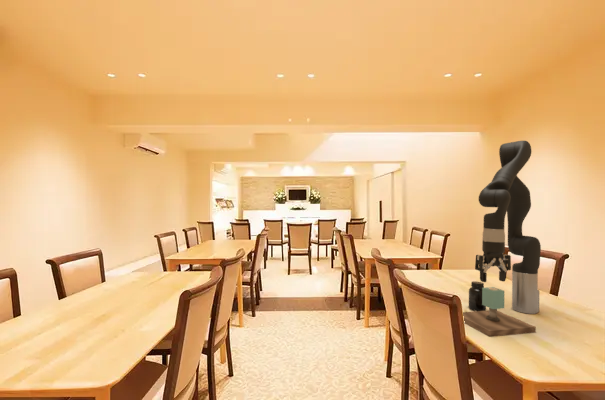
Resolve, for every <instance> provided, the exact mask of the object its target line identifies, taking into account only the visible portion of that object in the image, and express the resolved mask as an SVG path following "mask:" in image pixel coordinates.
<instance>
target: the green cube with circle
mask: <svg viewBox="0 0 605 400" xmlns="http://www.w3.org/2000/svg"><path fill="white" fill-rule="evenodd" d="M482 305H484V306H486V308H488V309H489V308H491V309H497V310H500V309H502V310H503V309H505V290H503V289H500V288H497V287H494V286H488V287H484V288H482Z"/></svg>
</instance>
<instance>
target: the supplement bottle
mask: <svg viewBox="0 0 605 400" xmlns="http://www.w3.org/2000/svg"><path fill="white" fill-rule="evenodd" d="M484 284H485V282H482V281H477V280H476V281H475V280H473V281H471V284H470V286H471V287H469V289H468V308H469V310H471V311H473V312H474V311H487V307H486V306H484V305H482V288H485V285H484Z"/></svg>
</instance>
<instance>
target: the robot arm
mask: <svg viewBox="0 0 605 400" xmlns="http://www.w3.org/2000/svg"><path fill="white" fill-rule="evenodd" d="M498 150H499V151H498V152H499V153H498V155H499V161H500V165H501V166H500V169H498V170H497V171H496V173H495V174H494V176H493V177H492V180H491V181H490V182H489V183H488V184H486V186H485V187H484V188H483V189H482V190H481V191H480V193H479V195H478V202H479V205H480V206H482V207H484V208H496V210H495V211H494V212H490V213H485V214H484V215H483V227H482V228H483V231H482V239H481V240H482V244H481V245H482V247H481V249H482V252H483V255H481V254H476V255H475V265H474V269H475V270H476V271H478V272H479V280H480V282H482V283H487V281H488V280H487V278H488V277H487V271H488V270H489V269H490V268H492V267H497V268H498V270H499V271H498V280H499V281H500V282H505V281H506V279H507V272H508V271H511V270H512V272H511V276H512V277H511V279H512V280H511V299H512V300H511V310H513V311H516V312H519V313H522V314H528V315H529V314H530V315H534V314H535V315H536V314H538V313H539V312H540V290H539V282H538V281H539V269H540V263H541V251H542V250H541V249H542V247H541V246H542V245H541V242H540V240H539V239H538V238H537V237H536V236H530V235H529V236H528V235H523V225H524V224H523V223H524V221H525V219H526V217H527V215H528V213H530V210H531V207H532V201H531V192H530V189H529V188H528V187H527V186H526V184H525V183H524V182H523V181H522V179H520V178H519V177H518V174H519V173H520V171H521V170H522V169H523V168H524V166H525V165H526V164H527V163H528V162H529V160H530V157H531V156H532V146H531V144H530V142H529V141H527V140H518V141H512V142H506V143H502V144H501V145H500V147H499V149H498ZM506 217H507V247H508V251H509V253H511V254H513V255H515V256H521V257H522V261H520V262H516V263H513V264H511V263H512V261H511V260H512V259H511V255H510V254H507V253H506V254H505V252H506V234H505V233H506V232H505V218H506Z"/></svg>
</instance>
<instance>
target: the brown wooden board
mask: <svg viewBox="0 0 605 400" xmlns="http://www.w3.org/2000/svg"><path fill="white" fill-rule="evenodd" d="M463 316H464V321H465V323H464V324H465V325H467V326H469V327H470V328H473V329H475V330H477V331H479V332H480V333H482V334H484V335H486V336H487V337H498V336H499V337H500V336H501V337H502V336H510V335H521V334H532V333H536V331H537V328H536V326H534V325H532V324H530V323H527V322H525V321H523V320H520V319H519V318H516V317H513V316H510V315H508V314H506V313H504V312H502V311H500V310H498V309H491V308H489V307H488V310H487V309H486V311H474V310H473V311H463Z"/></svg>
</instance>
